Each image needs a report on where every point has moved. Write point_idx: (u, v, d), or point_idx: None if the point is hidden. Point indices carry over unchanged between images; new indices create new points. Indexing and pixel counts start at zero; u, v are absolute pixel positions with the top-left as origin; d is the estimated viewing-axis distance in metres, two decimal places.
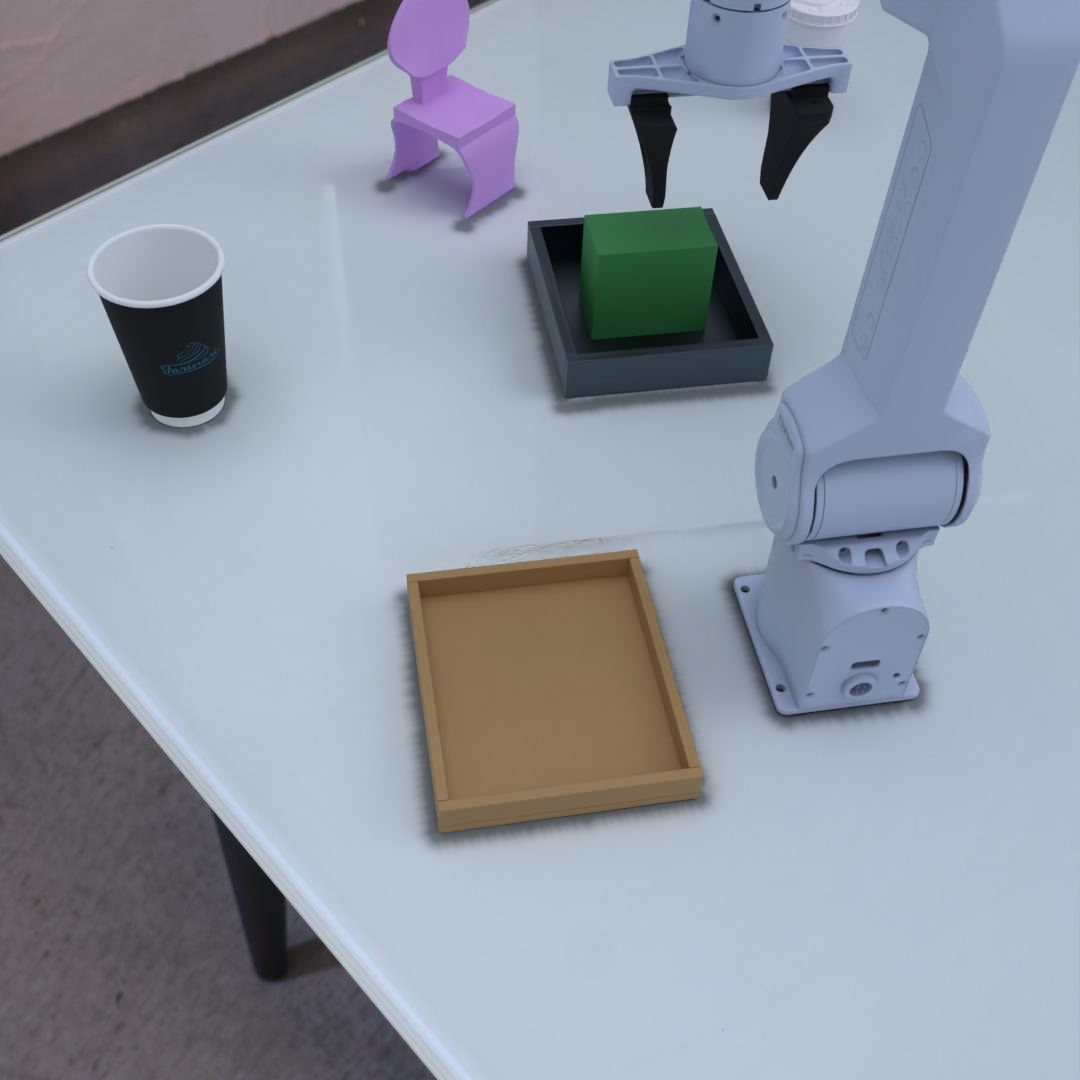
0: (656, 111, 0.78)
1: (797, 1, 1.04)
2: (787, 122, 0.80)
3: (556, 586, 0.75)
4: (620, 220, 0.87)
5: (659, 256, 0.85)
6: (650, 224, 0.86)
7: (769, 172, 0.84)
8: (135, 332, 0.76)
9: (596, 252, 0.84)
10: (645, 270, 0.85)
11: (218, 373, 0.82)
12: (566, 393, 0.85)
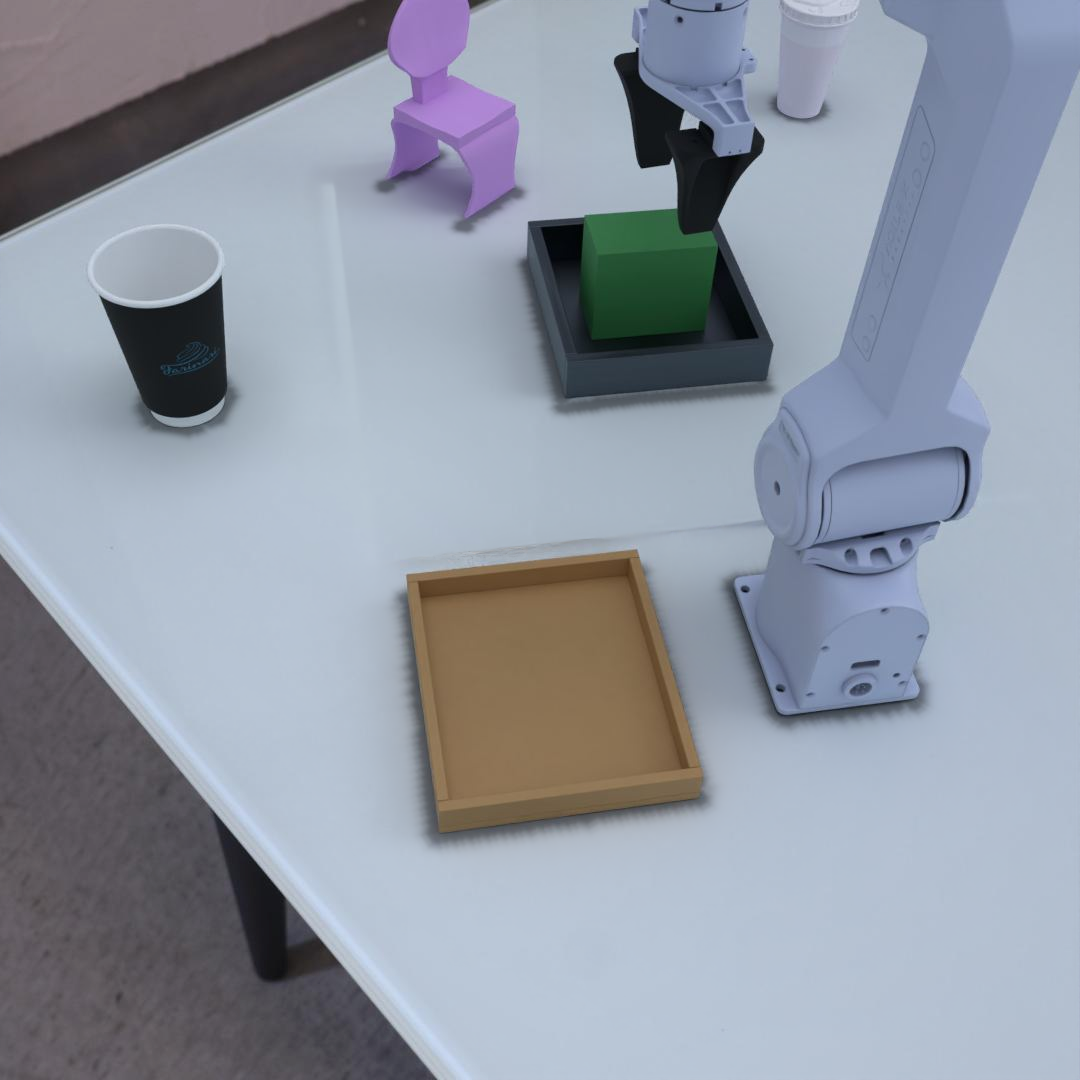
0: None
1: (797, 1, 1.04)
2: None
3: (556, 586, 0.75)
4: (620, 220, 0.87)
5: (659, 256, 0.85)
6: (650, 224, 0.86)
7: None
8: (135, 332, 0.76)
9: (596, 252, 0.84)
10: (645, 270, 0.85)
11: (218, 373, 0.82)
12: (566, 393, 0.85)
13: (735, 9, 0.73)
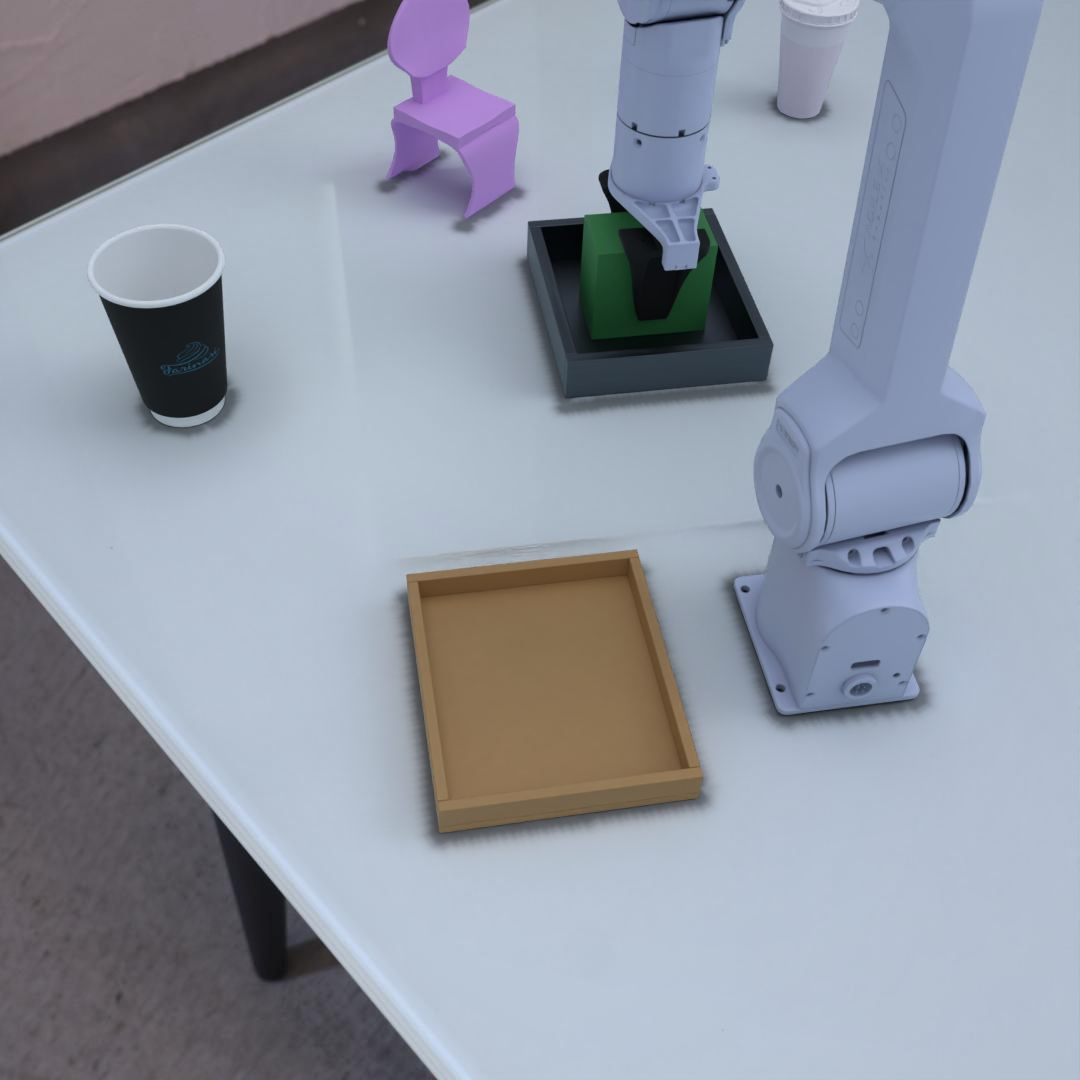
0: None
1: (797, 1, 1.04)
2: None
3: (556, 586, 0.75)
4: (620, 220, 0.87)
5: None
6: None
7: None
8: (135, 332, 0.76)
9: (596, 252, 0.84)
10: None
11: (218, 373, 0.82)
12: (566, 393, 0.85)
13: (691, 136, 0.78)
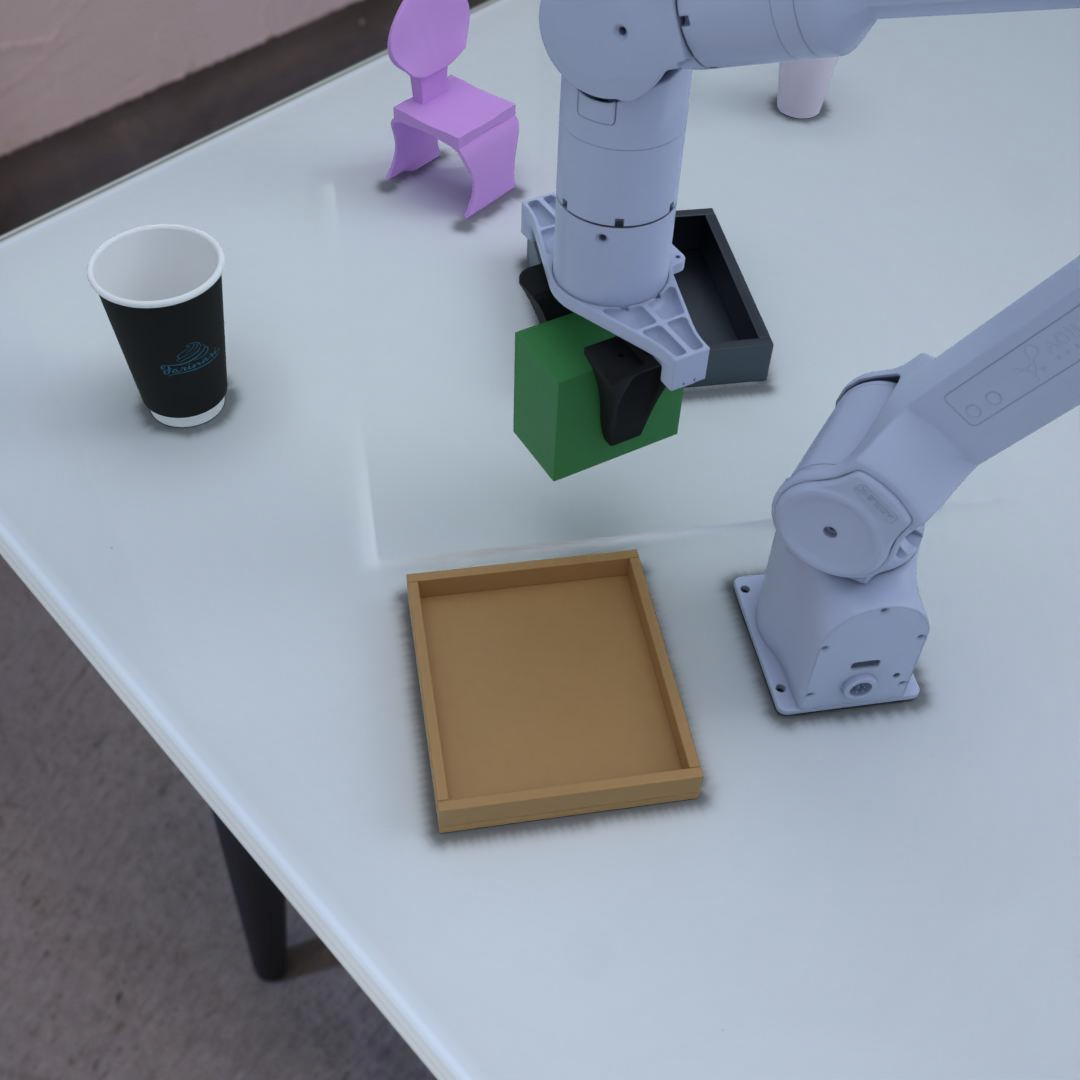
0: None
1: None
2: None
3: (556, 586, 0.75)
4: (562, 329, 0.68)
5: None
6: (599, 326, 0.68)
7: None
8: (135, 332, 0.76)
9: (553, 379, 0.65)
10: None
11: (218, 373, 0.82)
12: None
13: (666, 217, 0.60)
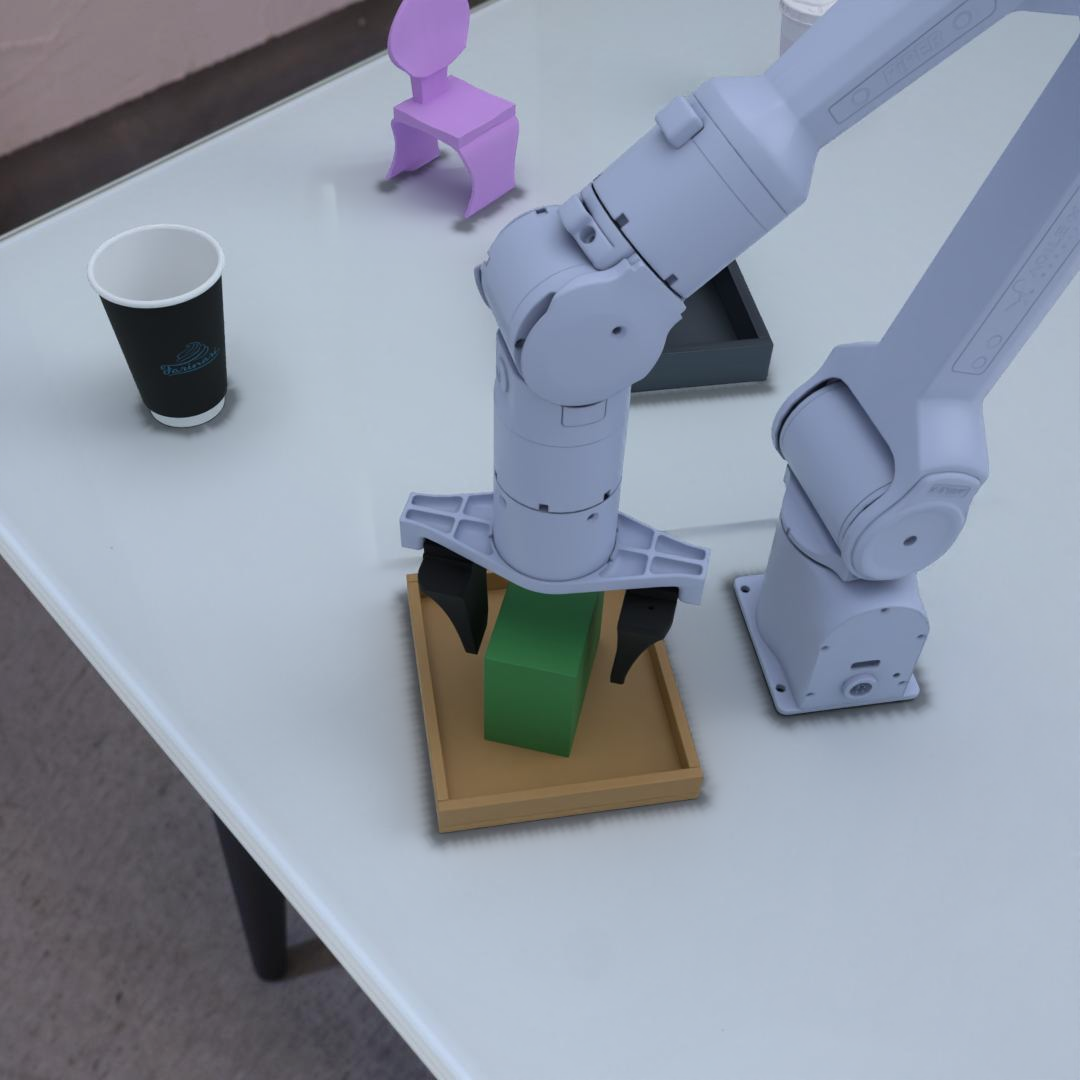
0: (453, 565, 0.63)
1: (797, 1, 1.04)
2: None
3: None
4: (515, 626, 0.64)
5: (592, 617, 0.65)
6: (537, 600, 0.65)
7: None
8: (135, 332, 0.76)
9: (566, 676, 0.62)
10: (588, 643, 0.65)
11: (218, 373, 0.82)
12: None
13: None
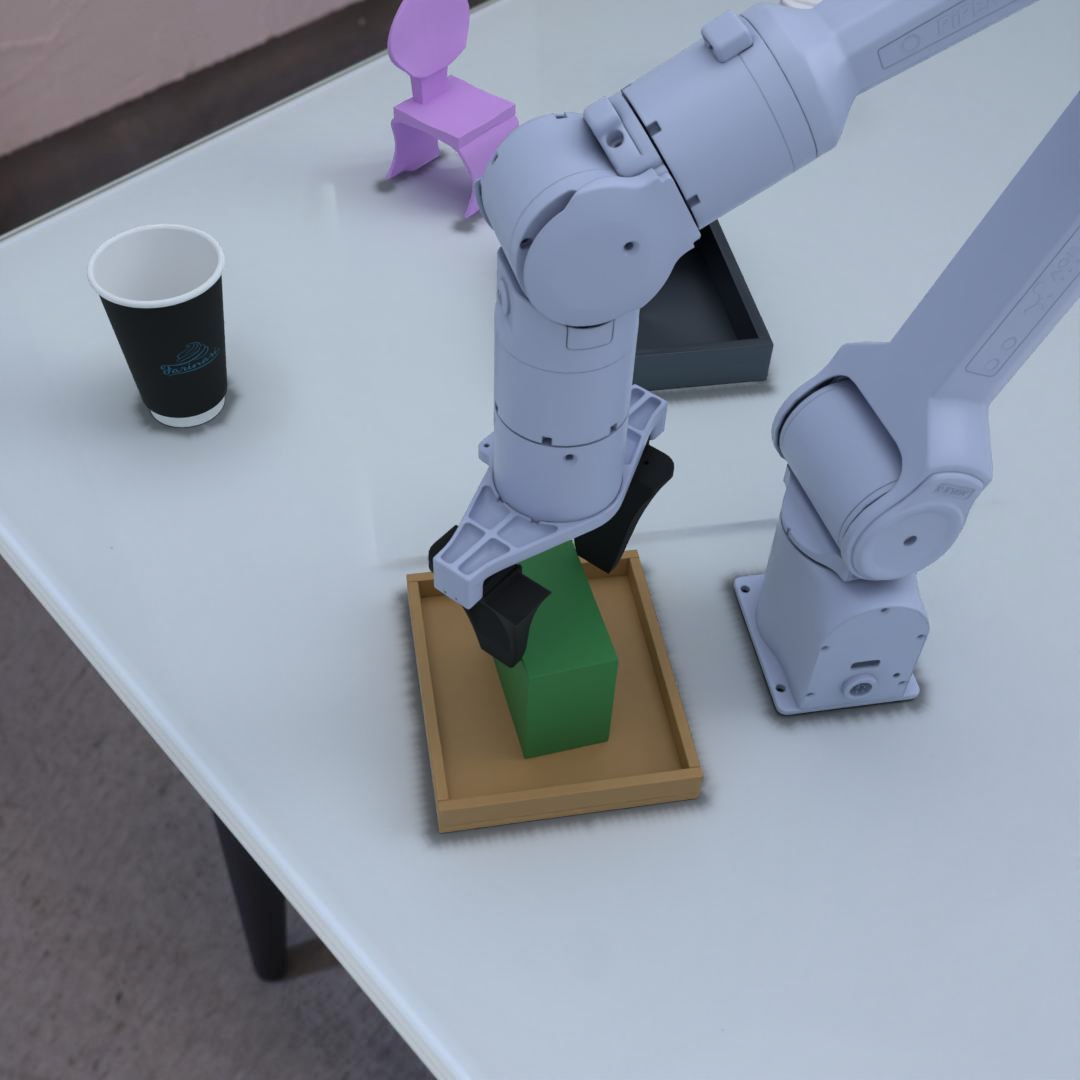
0: (509, 582, 0.57)
1: (797, 1, 1.04)
2: (623, 496, 0.62)
3: None
4: (535, 637, 0.63)
5: None
6: (539, 606, 0.65)
7: (598, 545, 0.66)
8: (135, 332, 0.76)
9: (609, 663, 0.63)
10: None
11: (218, 373, 0.82)
12: None
13: None
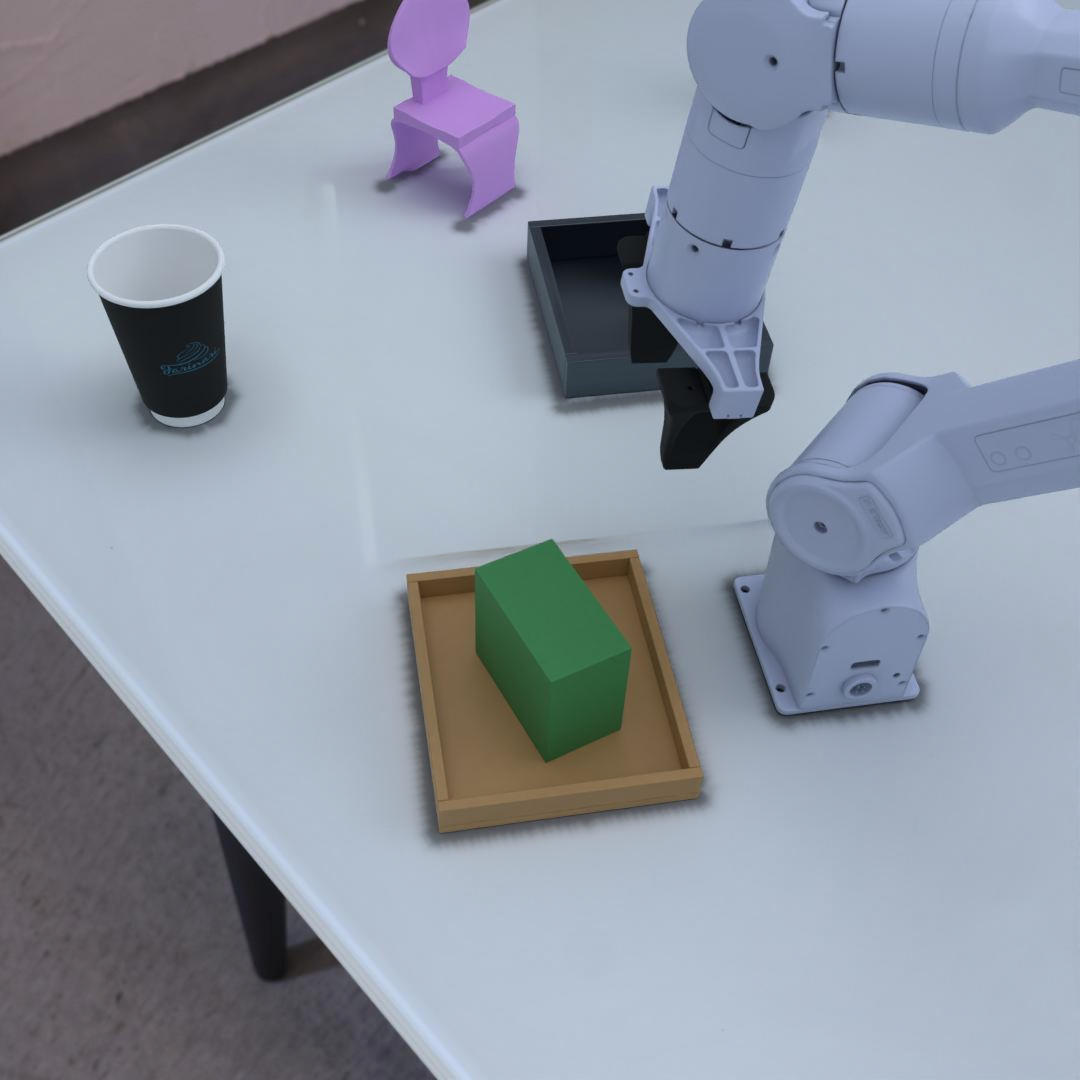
0: None
1: None
2: None
3: None
4: (546, 641, 0.63)
5: None
6: (540, 609, 0.64)
7: (659, 342, 0.72)
8: (135, 332, 0.76)
9: (623, 653, 0.63)
10: None
11: (218, 373, 0.82)
12: (566, 393, 0.85)
13: None
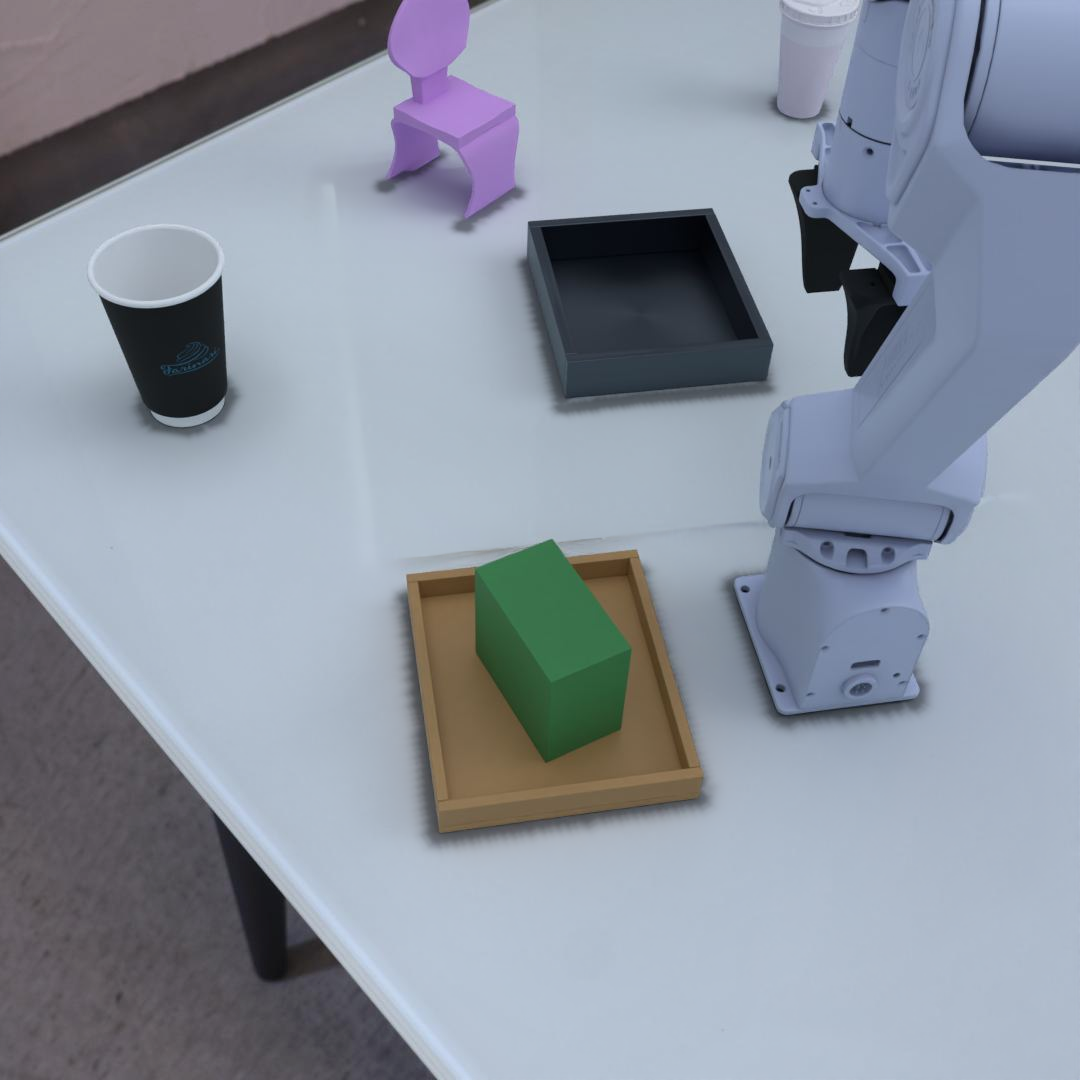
0: None
1: (797, 1, 1.04)
2: None
3: None
4: (546, 641, 0.63)
5: None
6: (540, 609, 0.64)
7: (831, 269, 0.77)
8: (135, 332, 0.76)
9: (623, 653, 0.63)
10: None
11: (218, 373, 0.82)
12: (566, 393, 0.85)
13: None
